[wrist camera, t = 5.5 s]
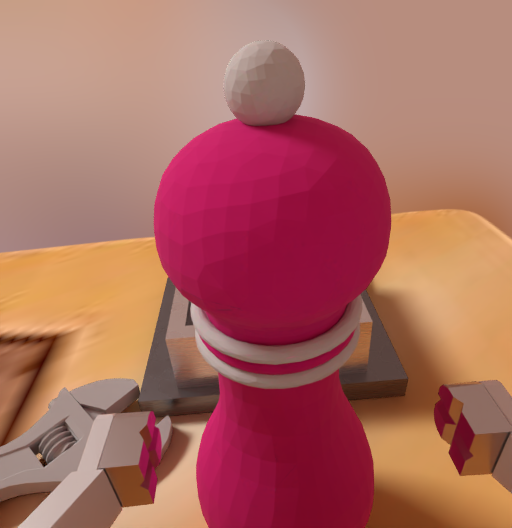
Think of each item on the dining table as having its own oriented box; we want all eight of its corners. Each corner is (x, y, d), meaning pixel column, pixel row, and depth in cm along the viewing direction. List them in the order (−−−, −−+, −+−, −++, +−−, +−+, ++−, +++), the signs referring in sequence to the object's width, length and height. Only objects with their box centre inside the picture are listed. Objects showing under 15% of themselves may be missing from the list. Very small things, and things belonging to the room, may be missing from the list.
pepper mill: (184, 584, 17) (-18, 72, 6) (240, 437, 23) (181, 36, 12) (357, 648, 15) (482, 53, 4) (371, 469, 21) (439, 20, 10)
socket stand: (143, 417, 24) (121, 352, 22) (170, 291, 35) (158, 236, 32) (404, 395, 25) (418, 327, 22) (351, 276, 36) (355, 220, 33)
